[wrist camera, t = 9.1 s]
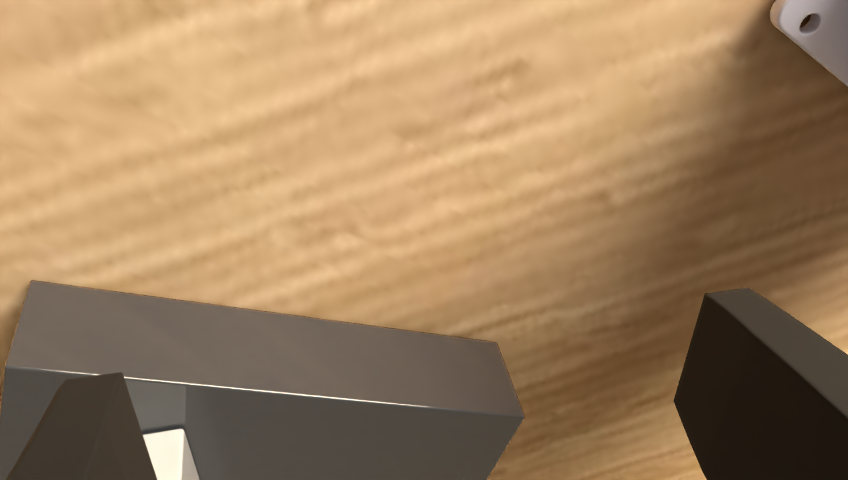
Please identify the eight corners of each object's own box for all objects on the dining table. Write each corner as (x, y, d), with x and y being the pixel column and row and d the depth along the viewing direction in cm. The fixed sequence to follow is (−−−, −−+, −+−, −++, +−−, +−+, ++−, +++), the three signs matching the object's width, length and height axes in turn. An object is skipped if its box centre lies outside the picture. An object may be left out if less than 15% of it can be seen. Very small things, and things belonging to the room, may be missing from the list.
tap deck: (497, 341, 24) (526, 417, 22) (392, 535, 29) (406, 613, 27) (30, 278, 20) (3, 366, 17) (3, 521, 25) (-20, 614, 22)
